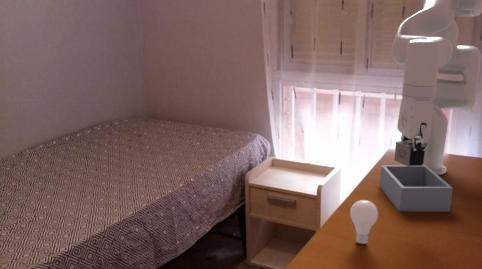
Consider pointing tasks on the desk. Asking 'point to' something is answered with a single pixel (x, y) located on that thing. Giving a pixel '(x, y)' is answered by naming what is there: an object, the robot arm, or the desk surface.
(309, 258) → the desk surface
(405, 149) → the dice cube
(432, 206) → the box
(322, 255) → the desk surface
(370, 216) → the lightbulb
